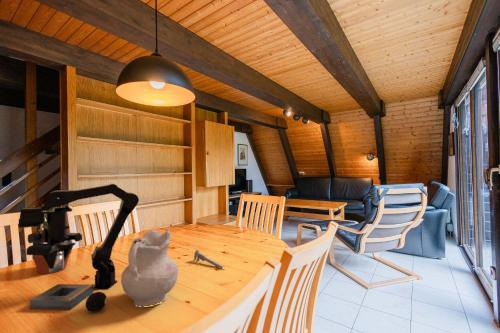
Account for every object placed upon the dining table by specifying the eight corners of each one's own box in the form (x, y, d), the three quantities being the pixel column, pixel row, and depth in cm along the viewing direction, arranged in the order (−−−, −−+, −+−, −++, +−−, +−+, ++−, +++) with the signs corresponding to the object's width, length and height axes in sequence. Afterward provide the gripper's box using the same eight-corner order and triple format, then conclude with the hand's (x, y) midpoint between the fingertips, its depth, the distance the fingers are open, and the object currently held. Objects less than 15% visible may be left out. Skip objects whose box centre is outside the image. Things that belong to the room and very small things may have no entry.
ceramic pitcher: (166, 321, 80) (174, 243, 80) (103, 318, 78) (111, 239, 79) (180, 289, 101) (185, 228, 102) (131, 286, 100) (137, 225, 100)
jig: (93, 292, 95) (93, 283, 96) (70, 310, 83) (70, 300, 84) (58, 291, 96) (58, 283, 96) (29, 309, 84) (29, 299, 84)
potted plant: (28, 279, 106) (29, 209, 106) (35, 267, 119) (36, 205, 119) (70, 272, 114) (71, 207, 114) (73, 261, 127) (74, 203, 127)
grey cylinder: (67, 267, 95) (67, 249, 95) (57, 272, 90) (57, 253, 90) (56, 267, 95) (56, 249, 95) (45, 272, 91) (45, 253, 91)
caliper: (193, 261, 130) (194, 249, 130) (195, 260, 131) (195, 248, 131) (224, 270, 118) (224, 257, 118) (225, 269, 119) (225, 256, 119)
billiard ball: (89, 307, 85) (90, 289, 86) (108, 305, 87) (109, 287, 87) (82, 317, 80) (82, 298, 80) (102, 314, 81) (103, 296, 81)
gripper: (57, 219, 103) (57, 256, 102) (11, 230, 84) (11, 276, 84) (83, 219, 102) (83, 257, 102) (42, 230, 83) (42, 277, 83)
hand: (56, 266), depth 93 cm, fingers closed on grey cylinder, 4 cm apart
